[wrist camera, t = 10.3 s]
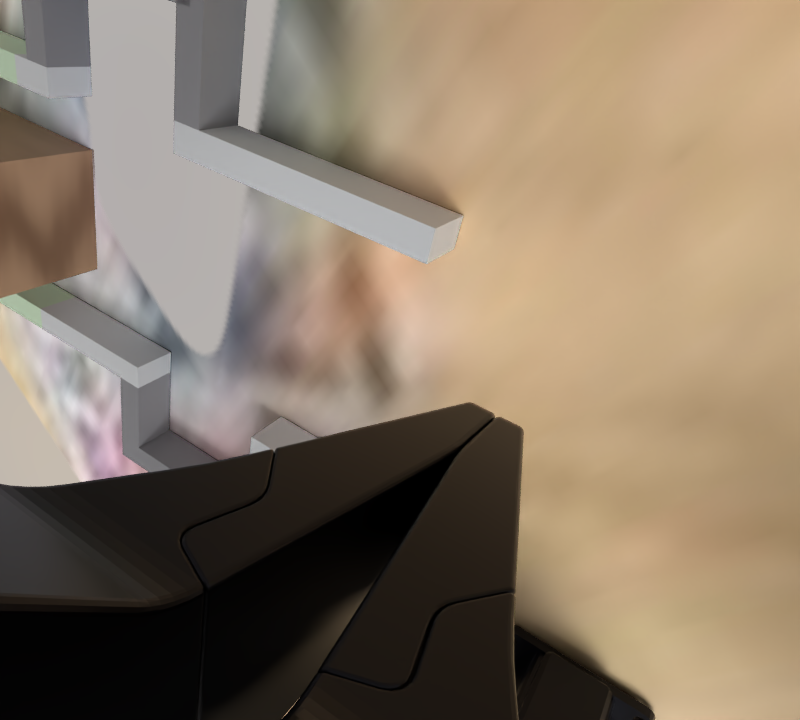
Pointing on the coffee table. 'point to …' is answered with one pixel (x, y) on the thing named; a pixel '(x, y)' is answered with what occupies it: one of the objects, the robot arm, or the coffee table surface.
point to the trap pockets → (194, 106)
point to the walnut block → (43, 206)
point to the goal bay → (31, 301)
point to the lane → (264, 171)
